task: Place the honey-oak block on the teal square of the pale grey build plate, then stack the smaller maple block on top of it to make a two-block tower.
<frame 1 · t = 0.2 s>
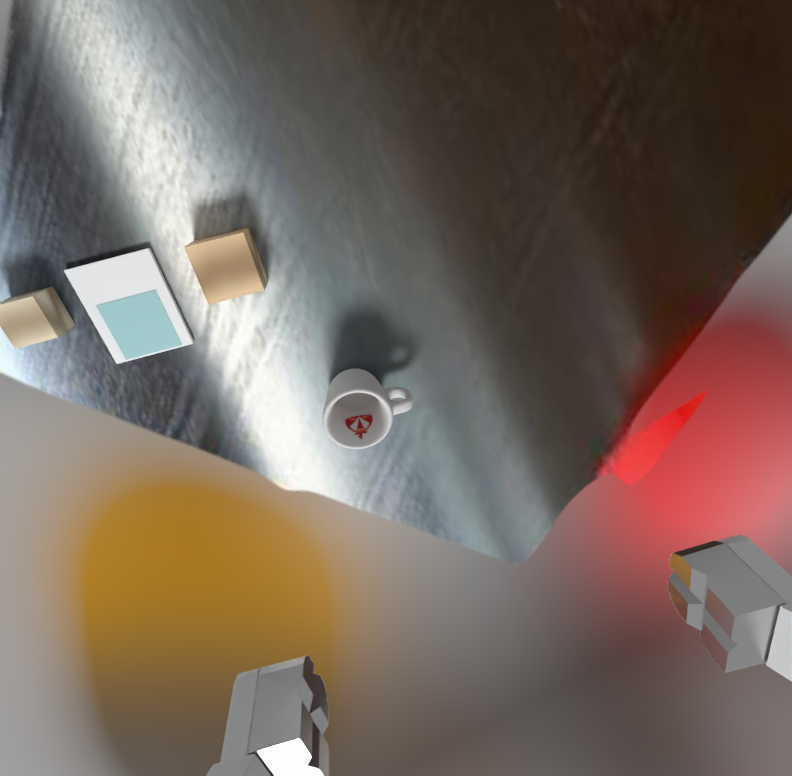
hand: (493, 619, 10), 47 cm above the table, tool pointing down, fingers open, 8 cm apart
oak block: (232, 261, 51), on the table
maple block: (44, 311, 51), on the table
cup: (365, 386, 60), on the table
build plate: (133, 307, 52), on the table
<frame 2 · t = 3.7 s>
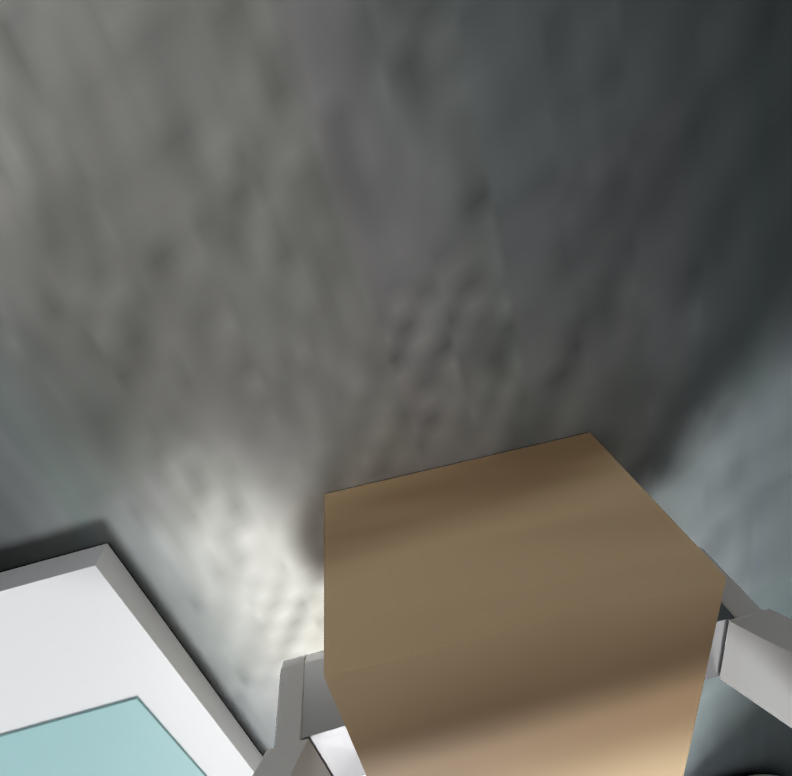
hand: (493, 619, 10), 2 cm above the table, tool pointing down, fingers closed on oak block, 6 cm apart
oak block: (472, 558, 12), on the table, touching gripper
build plate: (48, 733, 12), on the table
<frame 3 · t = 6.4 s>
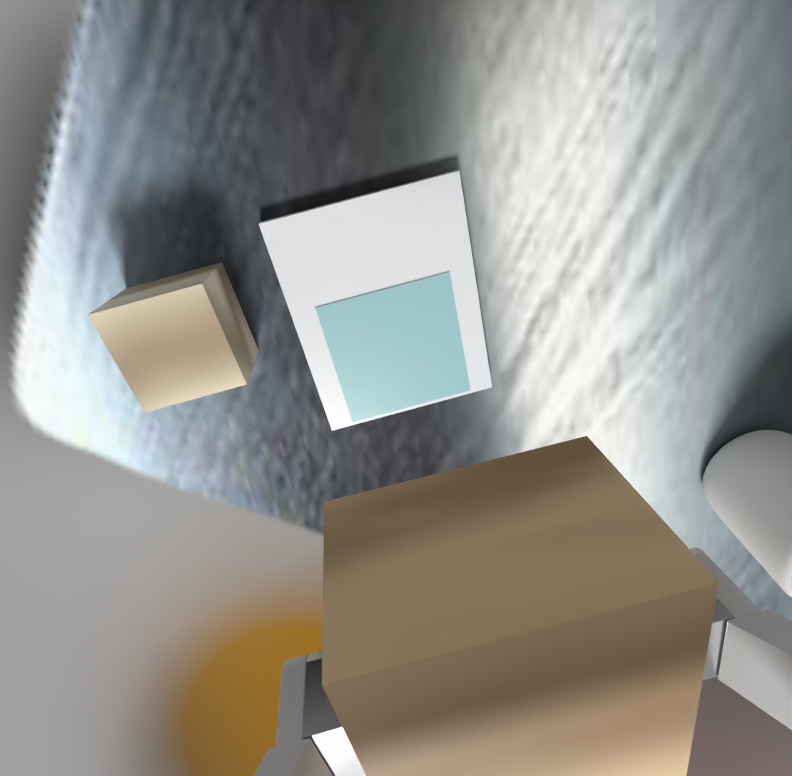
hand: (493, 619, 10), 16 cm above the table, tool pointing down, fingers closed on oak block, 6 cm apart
oak block: (473, 562, 12), point 14 cm above the table, touching gripper
maple block: (196, 319, 23), on the table
cup: (757, 459, 32), on the table
build plate: (387, 311, 23), on the table
when the fingers open (3 cm above the table, at t = 9.1 s): oak block stays where it is, resting on build plate.
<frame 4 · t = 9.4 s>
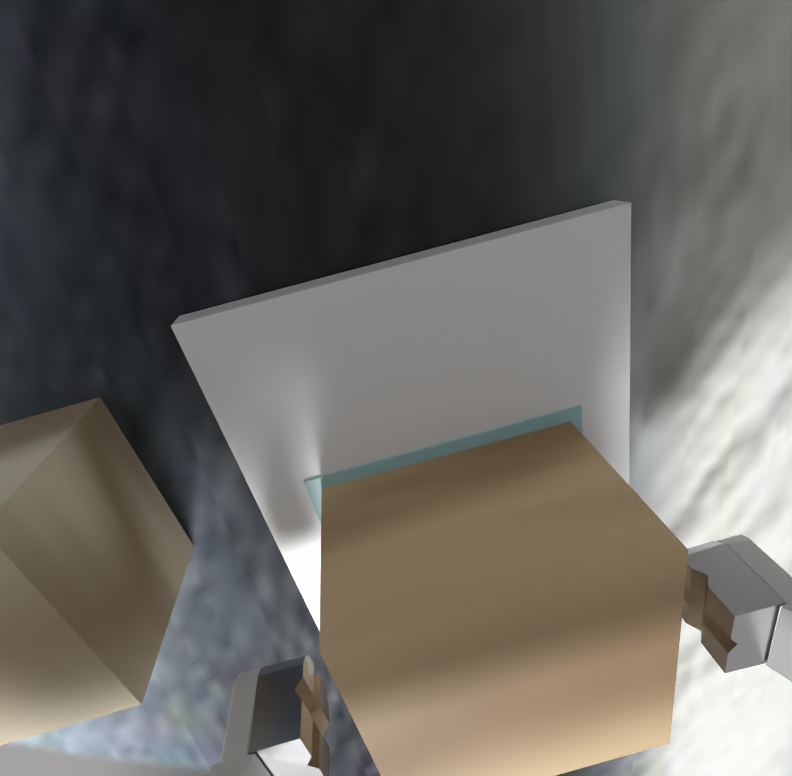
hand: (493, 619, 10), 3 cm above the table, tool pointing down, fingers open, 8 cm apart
oak block: (466, 545, 12), point 1 cm above the table, touching build plate
maple block: (60, 502, 11), on the table
build plate: (446, 470, 12), on the table
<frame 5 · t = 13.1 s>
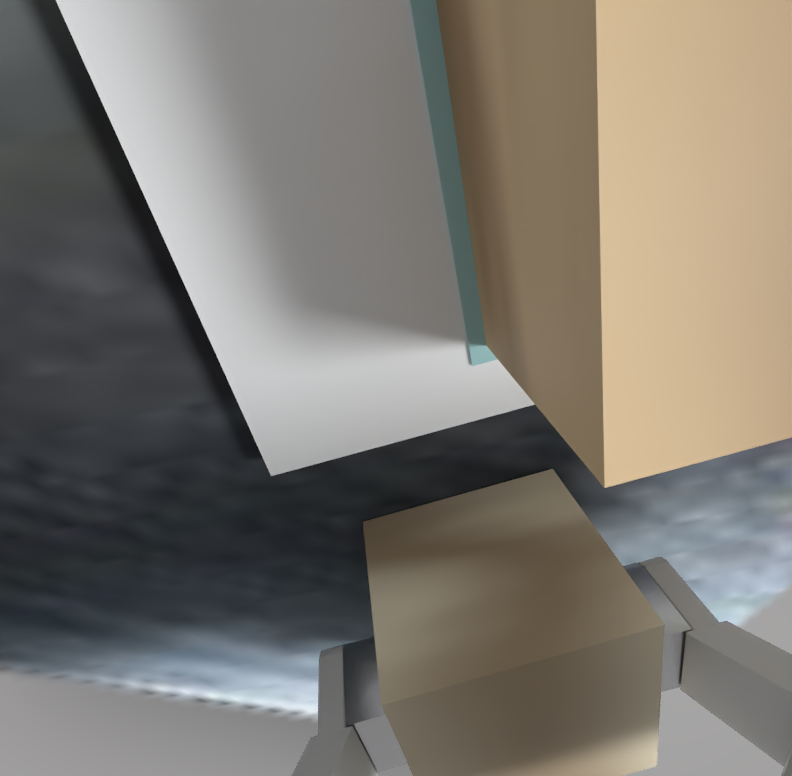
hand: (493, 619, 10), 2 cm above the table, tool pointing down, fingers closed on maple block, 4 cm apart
oak block: (653, 113, 7), point 1 cm above the table, touching build plate
maple block: (473, 562, 12), on the table, touching gripper
build plate: (508, 149, 8), on the table
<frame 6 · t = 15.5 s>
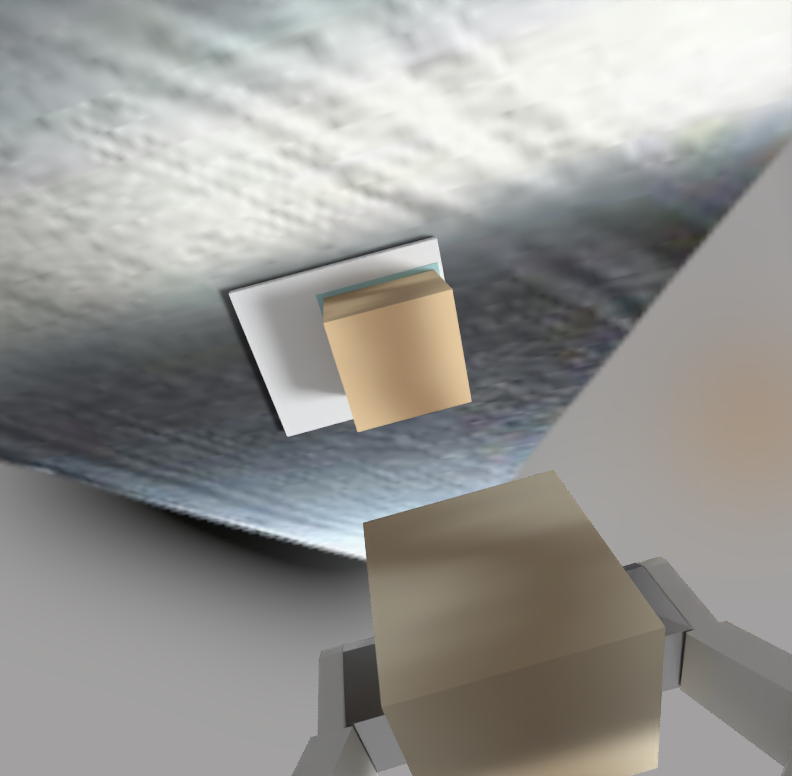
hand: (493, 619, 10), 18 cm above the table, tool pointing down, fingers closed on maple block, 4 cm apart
oak block: (391, 335, 26), point 1 cm above the table, touching build plate
maple block: (473, 563, 12), point 17 cm above the table, touching gripper
build plate: (355, 341, 27), on the table
when the fingers open (7 cm above the table, at t = 18.4 s): maple block stays where it is, resting on oak block.
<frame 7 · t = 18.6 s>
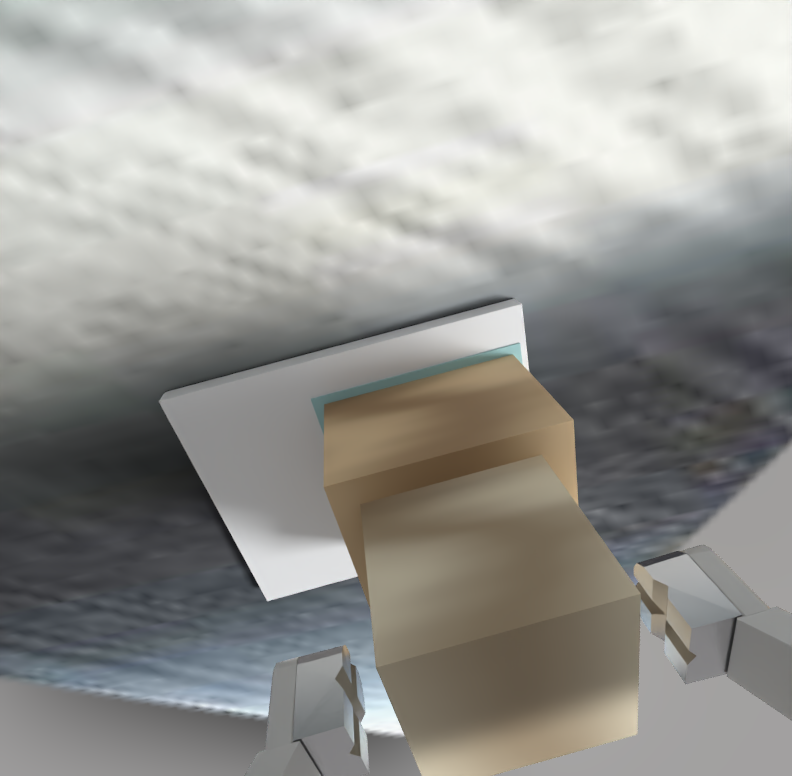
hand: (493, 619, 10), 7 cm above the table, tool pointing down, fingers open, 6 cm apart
oak block: (436, 456, 16), point 1 cm above the table, touching build plate, maple block
maple block: (465, 545, 12), point 5 cm above the table, touching oak block
build plate: (376, 461, 16), on the table
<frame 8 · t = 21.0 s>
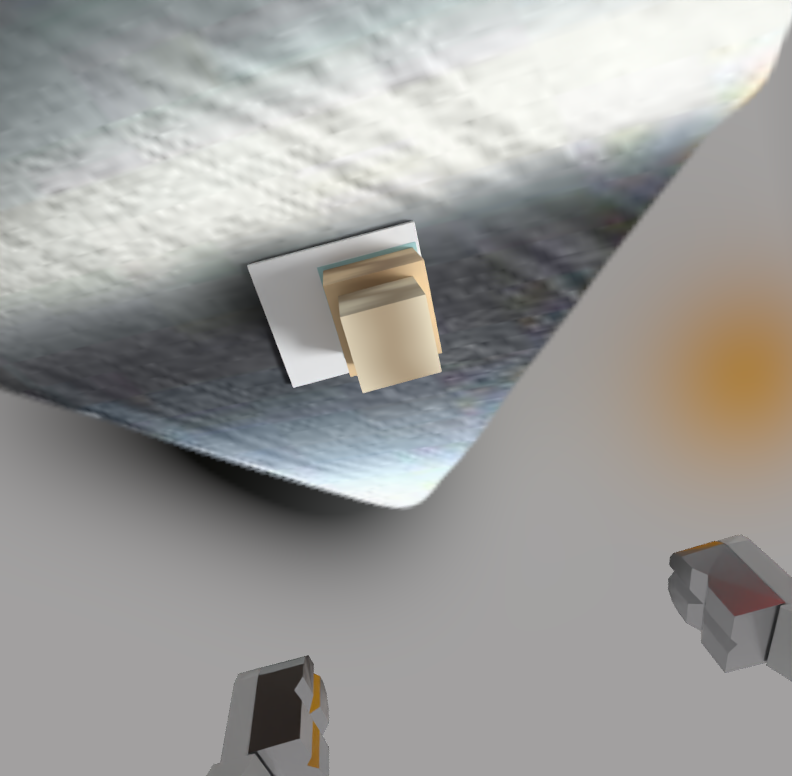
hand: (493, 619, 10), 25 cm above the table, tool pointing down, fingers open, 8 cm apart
oak block: (378, 302, 32), point 1 cm above the table, touching build plate, maple block
maple block: (384, 321, 28), point 5 cm above the table, touching oak block
build plate: (349, 307, 32), on the table
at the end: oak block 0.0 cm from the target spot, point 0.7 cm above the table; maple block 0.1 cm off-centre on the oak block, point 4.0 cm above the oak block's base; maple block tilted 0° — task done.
